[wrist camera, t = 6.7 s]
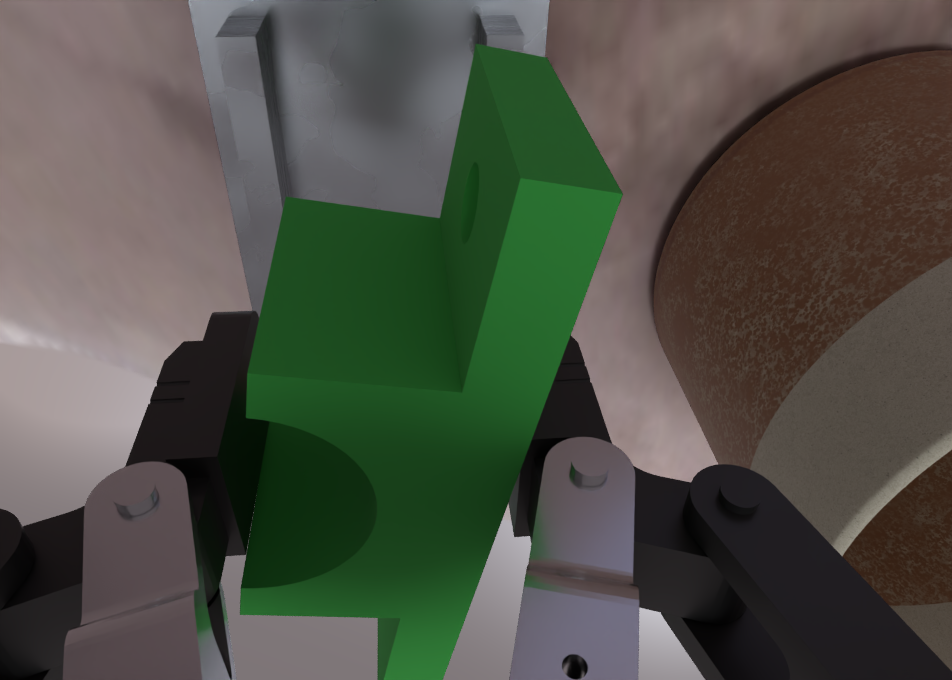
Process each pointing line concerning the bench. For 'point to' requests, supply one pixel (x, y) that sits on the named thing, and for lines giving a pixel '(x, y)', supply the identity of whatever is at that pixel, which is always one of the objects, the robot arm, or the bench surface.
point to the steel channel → (343, 101)
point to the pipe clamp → (420, 369)
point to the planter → (833, 320)
